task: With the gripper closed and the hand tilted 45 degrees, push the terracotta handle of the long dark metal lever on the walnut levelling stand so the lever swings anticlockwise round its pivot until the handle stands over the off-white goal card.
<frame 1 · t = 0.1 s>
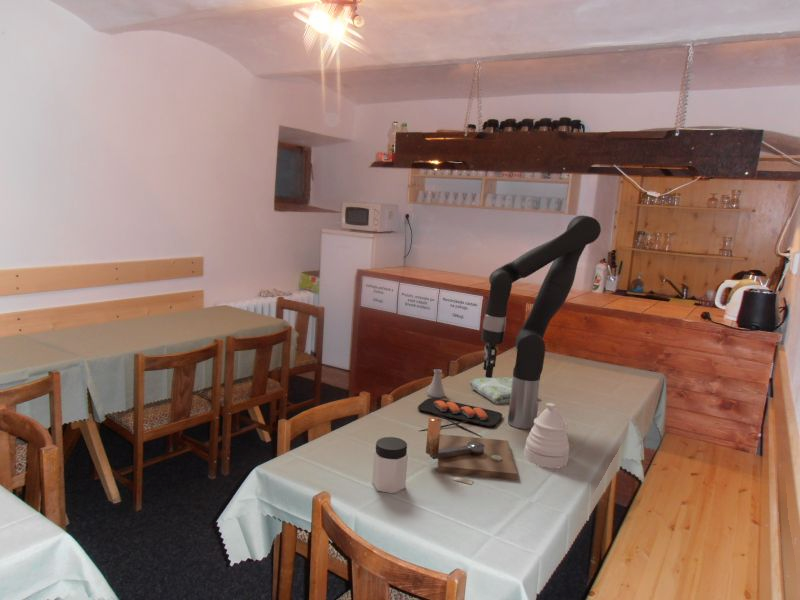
hand: (487, 373, 199), 17 cm above the table, tool pointing down, fingers open, 8 cm apart
flask: (435, 395, 225), on the table
towel: (502, 395, 232), on the table
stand: (474, 458, 172), on the table
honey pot: (545, 459, 176), on the table
lever: (456, 435, 168), point 8 cm above the table, hinge at 30.0°
jar: (388, 486, 153), on the table
sushi plate: (452, 423, 200), on the table
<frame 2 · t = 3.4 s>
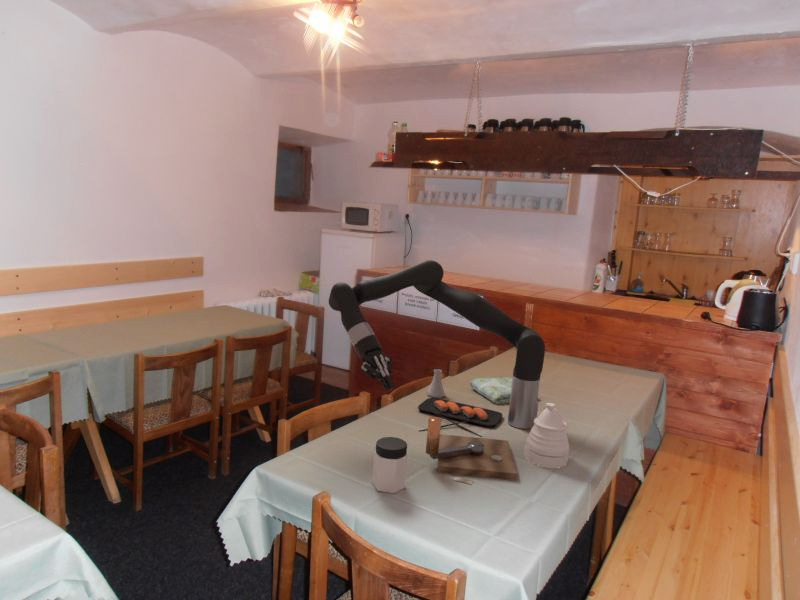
hand: (390, 388, 173), 18 cm above the table, tool tilted 45°, fingers closed
nothing on the table moved.
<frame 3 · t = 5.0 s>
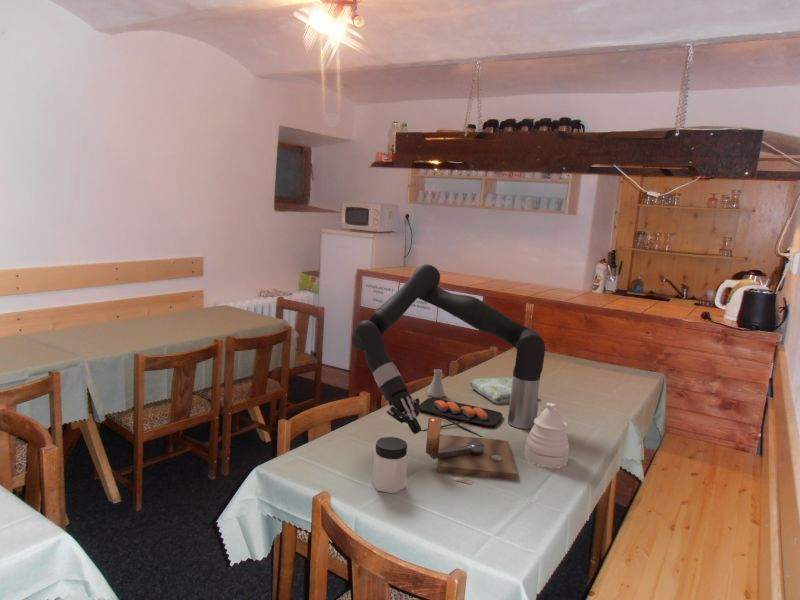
hand: (417, 432, 168), 8 cm above the table, tool tilted 45°, fingers closed
nothing on the table moved.
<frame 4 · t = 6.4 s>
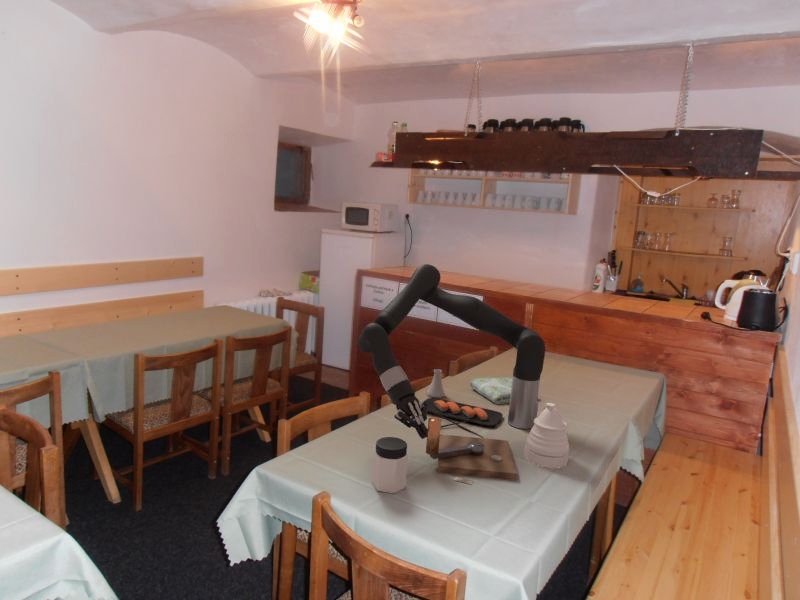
hand: (425, 437, 165), 8 cm above the table, tool tilted 45°, fingers closed
lever: (456, 435, 168), point 8 cm above the table, hinge at 30.0°, touching gripper
everything else where it was.
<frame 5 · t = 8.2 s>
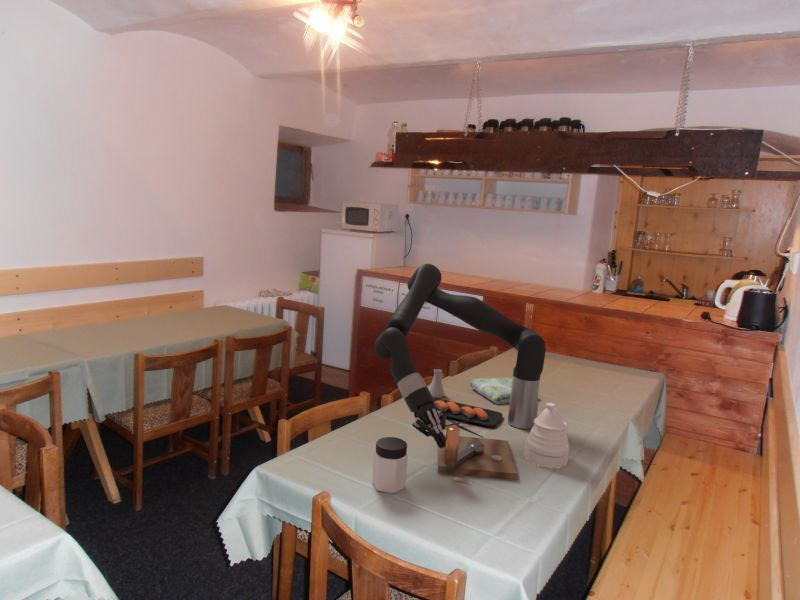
hand: (444, 446, 160), 8 cm above the table, tool tilted 45°, fingers closed
lever: (465, 439, 165), point 8 cm above the table, hinge at 58.2°, touching gripper
everything else where it was.
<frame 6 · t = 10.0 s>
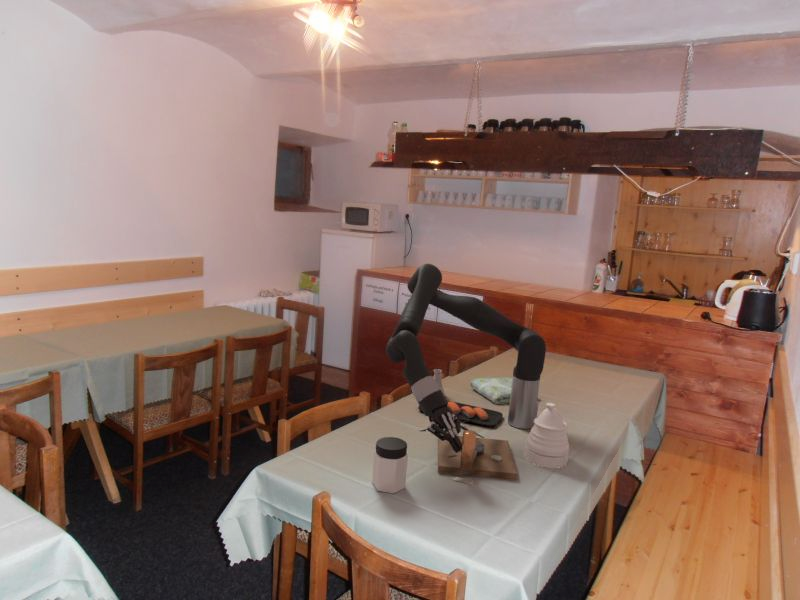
hand: (459, 450, 158), 8 cm above the table, tool tilted 45°, fingers closed
lever: (472, 441, 164), point 8 cm above the table, hinge at 76.5°, touching gripper
everything else where it was.
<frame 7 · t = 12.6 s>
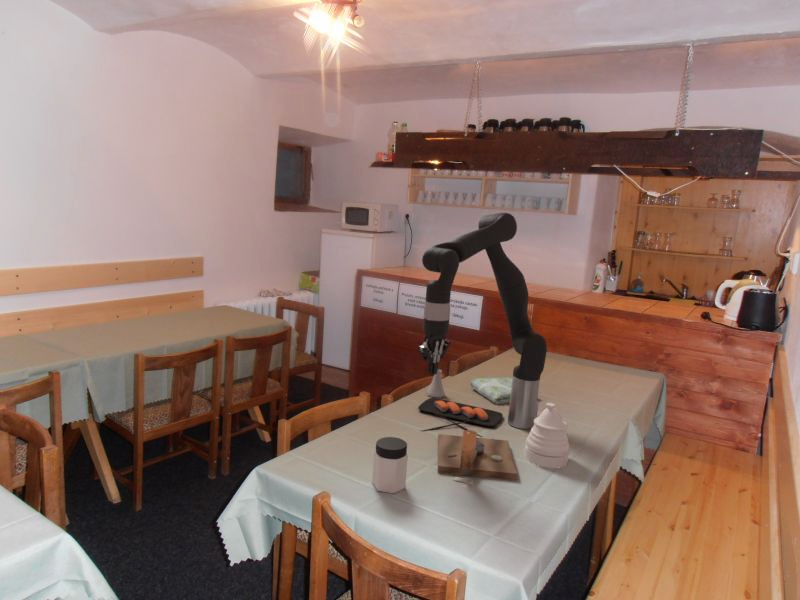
hand: (432, 373, 170), 25 cm above the table, tool pointing down, fingers closed
lever: (473, 441, 164), point 8 cm above the table, hinge at 76.7°
everything else where it was.
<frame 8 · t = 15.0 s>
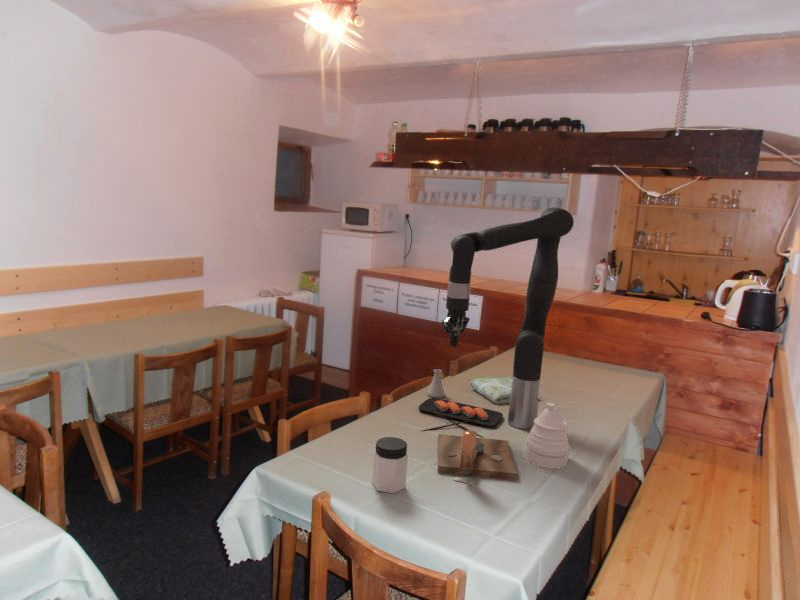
hand: (453, 346, 194), 27 cm above the table, tool pointing down, fingers closed
nothing on the table moved.
at the end: lever at +77° (first picture: +30°) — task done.
